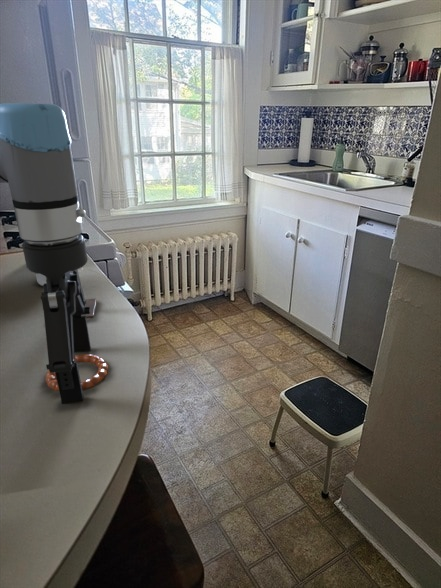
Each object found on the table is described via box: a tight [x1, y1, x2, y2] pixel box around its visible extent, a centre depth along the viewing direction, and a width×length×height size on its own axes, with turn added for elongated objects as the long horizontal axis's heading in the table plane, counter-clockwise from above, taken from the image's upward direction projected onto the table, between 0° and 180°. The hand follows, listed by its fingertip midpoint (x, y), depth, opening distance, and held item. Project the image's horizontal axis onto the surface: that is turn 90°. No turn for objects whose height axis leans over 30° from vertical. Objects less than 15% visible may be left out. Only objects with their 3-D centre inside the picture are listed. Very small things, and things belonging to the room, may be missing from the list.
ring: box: [44, 353, 109, 392], centre depth 59 cm, size 9×9×1 cm
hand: (78, 375), depth 59 cm, fingers open, 12 cm apart
